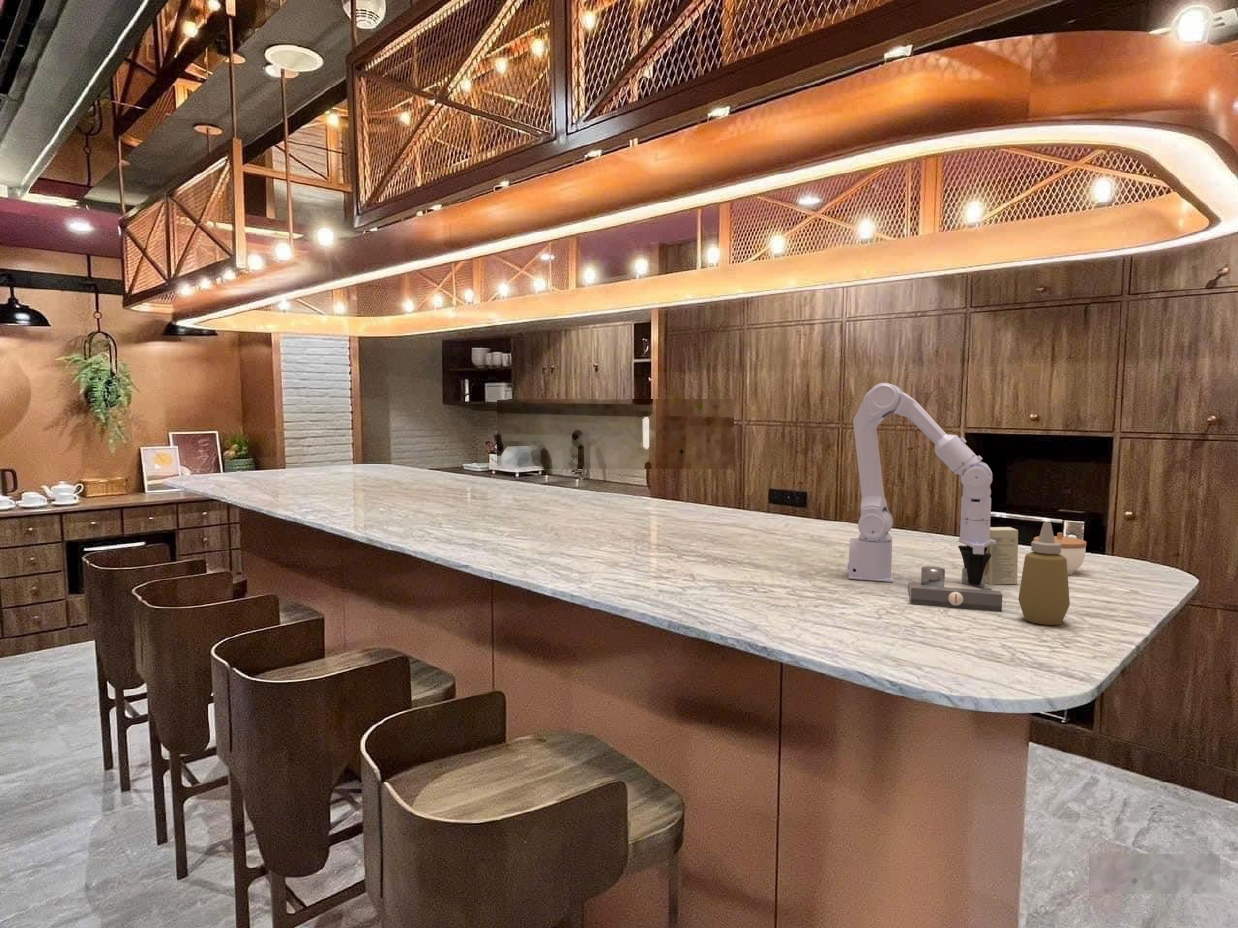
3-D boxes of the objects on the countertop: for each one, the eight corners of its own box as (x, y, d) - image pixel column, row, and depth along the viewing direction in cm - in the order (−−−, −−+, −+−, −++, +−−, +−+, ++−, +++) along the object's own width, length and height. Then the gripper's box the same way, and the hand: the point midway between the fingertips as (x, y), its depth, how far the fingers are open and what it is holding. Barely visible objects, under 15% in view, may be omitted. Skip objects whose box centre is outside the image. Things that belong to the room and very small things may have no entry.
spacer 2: (962, 589, 153) (963, 571, 153) (960, 584, 157) (961, 566, 157) (985, 591, 152) (986, 572, 151) (982, 586, 156) (983, 568, 156)
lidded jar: (1022, 567, 176) (1023, 529, 175) (1062, 566, 177) (1064, 528, 176) (1053, 577, 165) (1055, 537, 164) (1096, 576, 166) (1098, 536, 165)
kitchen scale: (910, 604, 141) (911, 588, 141) (908, 586, 156) (908, 572, 156) (1002, 612, 136) (1002, 595, 136) (990, 593, 150) (991, 577, 150)
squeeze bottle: (1025, 612, 136) (1029, 518, 134) (1074, 621, 130) (1079, 522, 129) (1011, 621, 130) (1015, 522, 129) (1062, 630, 124) (1066, 527, 123)
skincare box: (1009, 580, 162) (1011, 526, 161) (1017, 584, 158) (1020, 529, 157) (979, 579, 162) (981, 526, 162) (987, 584, 158) (989, 529, 157)
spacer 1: (921, 589, 147) (922, 569, 147) (920, 584, 151) (921, 565, 151) (945, 591, 145) (945, 571, 145) (943, 586, 150) (943, 567, 149)
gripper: (1001, 524, 145) (999, 590, 146) (991, 515, 159) (989, 575, 160) (963, 522, 148) (960, 587, 149) (956, 513, 161) (954, 573, 162)
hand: (973, 581), depth 154 cm, fingers closed on spacer 2, 4 cm apart
